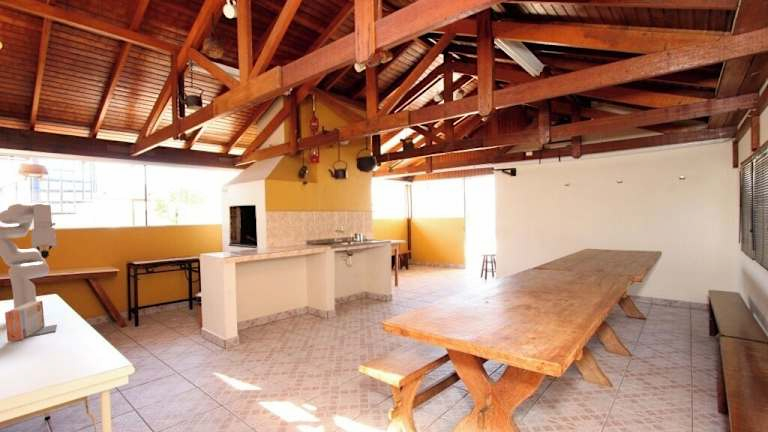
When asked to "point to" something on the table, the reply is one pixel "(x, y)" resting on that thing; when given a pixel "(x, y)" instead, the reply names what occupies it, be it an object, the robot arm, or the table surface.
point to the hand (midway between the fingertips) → (45, 257)
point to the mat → (44, 330)
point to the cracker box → (24, 320)
